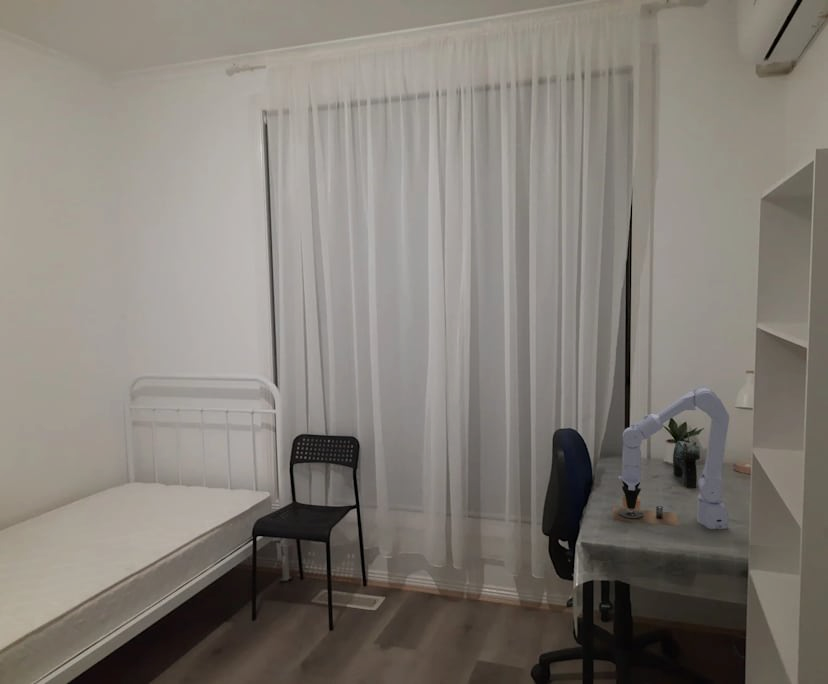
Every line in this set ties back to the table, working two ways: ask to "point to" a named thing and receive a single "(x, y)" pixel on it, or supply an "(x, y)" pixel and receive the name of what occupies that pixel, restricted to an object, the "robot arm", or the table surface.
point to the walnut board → (650, 517)
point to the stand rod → (659, 512)
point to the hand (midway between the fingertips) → (630, 505)
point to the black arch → (686, 461)
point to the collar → (637, 506)
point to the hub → (631, 514)
